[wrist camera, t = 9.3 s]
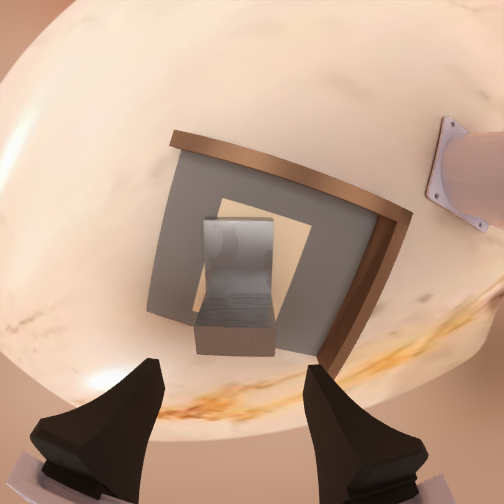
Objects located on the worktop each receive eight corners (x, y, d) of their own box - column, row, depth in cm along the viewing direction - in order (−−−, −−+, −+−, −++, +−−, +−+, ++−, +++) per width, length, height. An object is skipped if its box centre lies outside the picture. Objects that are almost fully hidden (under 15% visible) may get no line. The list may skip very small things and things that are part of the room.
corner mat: (390, 206, 19) (393, 206, 18) (325, 355, 23) (326, 358, 22) (187, 136, 18) (185, 135, 17) (147, 308, 21) (146, 311, 21)
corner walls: (390, 206, 19) (413, 212, 16) (325, 355, 23) (334, 379, 19) (187, 136, 18) (174, 129, 14) (147, 308, 21) (133, 329, 18)
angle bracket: (268, 308, 21) (274, 356, 15) (210, 307, 21) (196, 354, 15) (272, 217, 19) (281, 237, 13) (207, 216, 19) (187, 236, 13)
